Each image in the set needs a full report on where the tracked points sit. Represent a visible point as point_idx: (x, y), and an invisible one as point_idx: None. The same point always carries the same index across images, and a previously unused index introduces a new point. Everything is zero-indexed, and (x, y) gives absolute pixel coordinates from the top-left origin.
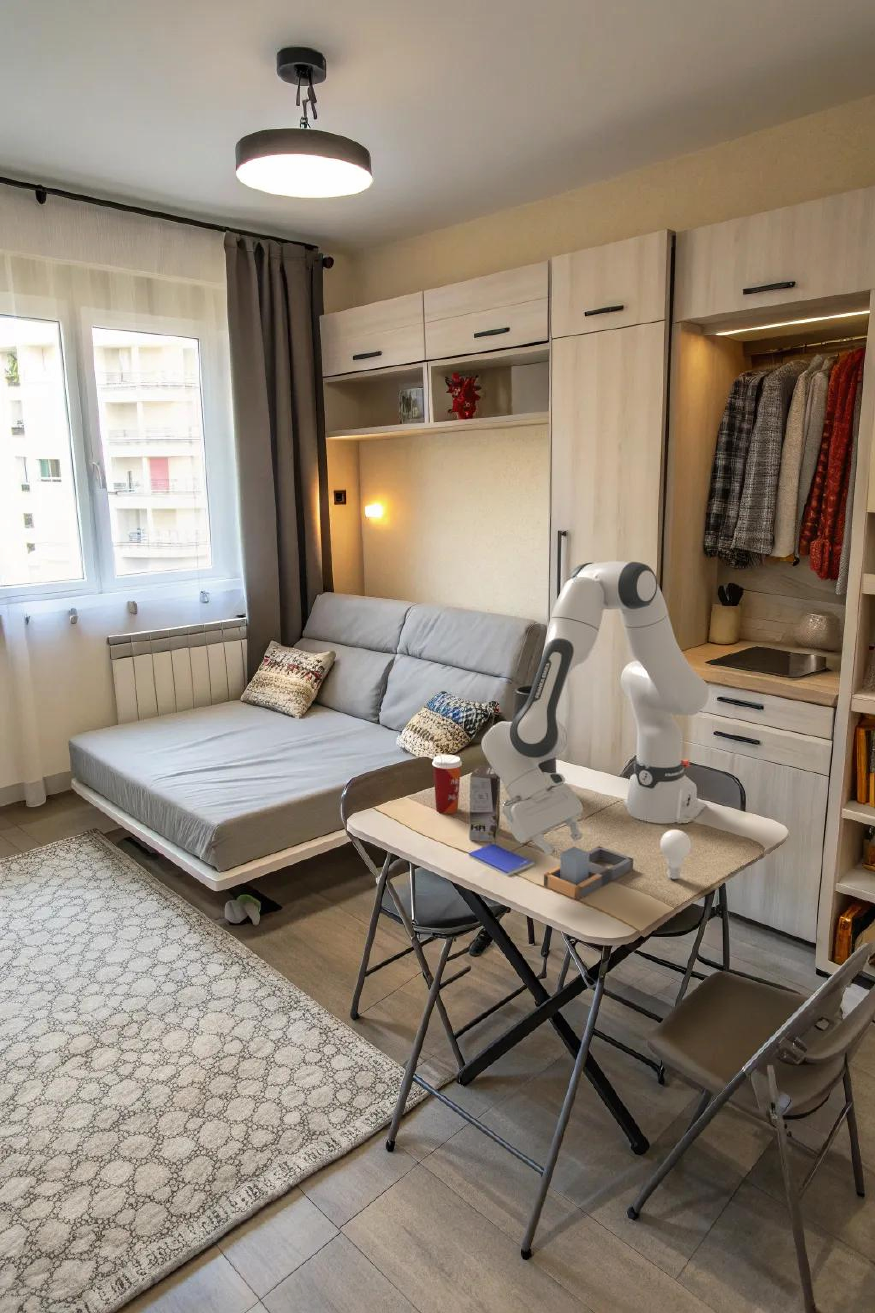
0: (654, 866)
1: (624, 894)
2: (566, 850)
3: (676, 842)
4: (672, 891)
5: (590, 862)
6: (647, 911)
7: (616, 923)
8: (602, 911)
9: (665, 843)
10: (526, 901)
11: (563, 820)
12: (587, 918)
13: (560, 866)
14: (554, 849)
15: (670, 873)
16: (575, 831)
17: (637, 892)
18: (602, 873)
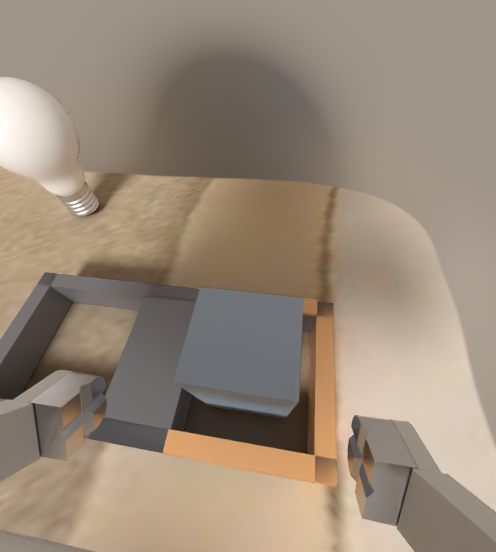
0: (33, 259)
1: (215, 251)
2: (245, 391)
3: (49, 96)
4: (148, 195)
5: (121, 367)
6: (258, 195)
7: (347, 213)
8: (326, 252)
9: (48, 123)
10: (481, 465)
11: (3, 532)
12: (383, 261)
13: (291, 410)
14: (367, 418)
15: (90, 200)
16: (54, 404)
17: (189, 236)
18: (187, 296)
